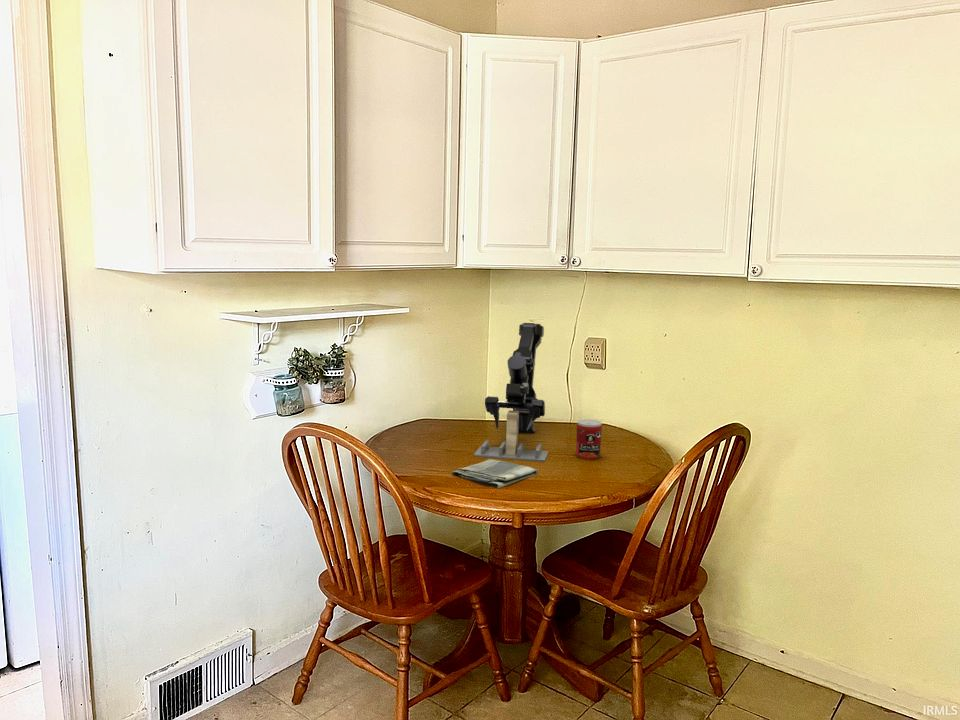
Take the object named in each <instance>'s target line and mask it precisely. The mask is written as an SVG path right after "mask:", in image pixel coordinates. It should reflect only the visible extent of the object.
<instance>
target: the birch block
mask: <svg viewBox="0 0 960 720" xmlns="http://www.w3.org/2000/svg"><path fill="white" fill-rule="evenodd" d="M518 419H519V411H513V410H508V411H507V413H506V433H505V434H506V435H505V441H506V454H507V455H516V453H517V448H518V447H519V445H518V443H519V442H518V441H519V432H518Z"/></svg>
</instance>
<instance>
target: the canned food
mask: <svg viewBox="0 0 960 720" xmlns="http://www.w3.org/2000/svg"><path fill="white" fill-rule="evenodd" d="M602 429H603V423H602V422H601V420H598V419H592V418H591V419H590V418H587V419H586V418H584V419H578V420H577V423H576V441H575V454H576V457H578V458H579V459H582V460H597V459H599V458H600V457H601V450H602V449H601V447H602Z"/></svg>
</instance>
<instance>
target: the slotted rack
mask: <svg viewBox="0 0 960 720" xmlns="http://www.w3.org/2000/svg"><path fill="white" fill-rule="evenodd" d="M542 446H543V445H542V443H538V444H537V446H536V449H525V442H520V443H519V445H518V447H517V453H516V455H507V454H506V440H503V441H502V443H501V444H500V446H499V447H496V446H490V439H486V440H484V442H483V443H482V444H481V445H479V446H478V448H477V450H475V452H474V453H473V457H479V458H488V459H502V460H515V461H516V460H517V461H529V462H539V463H545V462H546V460H547V457H548V454H549V451H547V450H542Z"/></svg>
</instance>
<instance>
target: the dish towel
mask: <svg viewBox="0 0 960 720" xmlns="http://www.w3.org/2000/svg"><path fill="white" fill-rule="evenodd" d="M538 473H539V471H538V470H537V469H536V468H534V467H531V466H528V465H521V464H517V463H513V462H509V461H504V460H499V459H495V458H488V459H486V460H484V461H482V462H479V463H475V464H473V463H472V464H470V465H468V466H464V467H459V468H457V470H453V471H451V475H452V476H457V475H458V476H457V477H459V476H460V477H459V478H463V479H465V480H468V481H472V482H473V481H474V482H475V483H479V484H481V485H483V486H489V487H490V486H491V488H492V487H493V488H496V489H501V488H504V487H506V486H509V485H512V484H514V483H516V482H519V481H521V480H522V481H523V480H525V479H527V478H530V477H532V476H533V477H534V476H536V475H537V474H538ZM454 474H455V475H454Z"/></svg>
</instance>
